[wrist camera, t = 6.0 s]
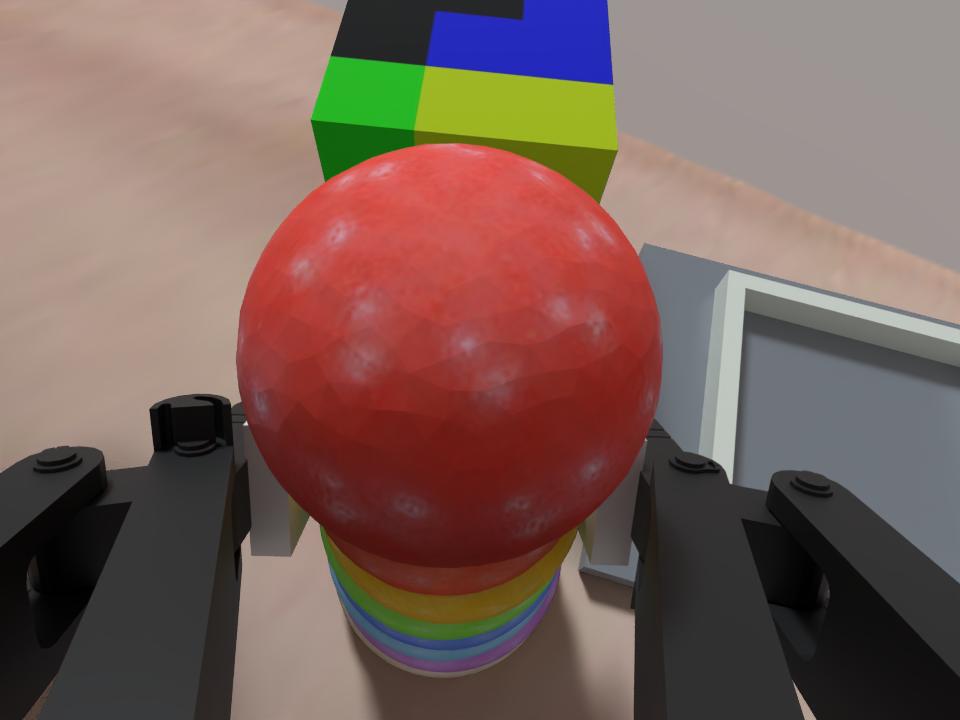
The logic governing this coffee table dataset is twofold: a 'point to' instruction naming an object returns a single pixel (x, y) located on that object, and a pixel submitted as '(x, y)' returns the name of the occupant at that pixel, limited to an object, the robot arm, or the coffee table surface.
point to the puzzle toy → (472, 83)
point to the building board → (810, 394)
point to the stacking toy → (448, 389)
